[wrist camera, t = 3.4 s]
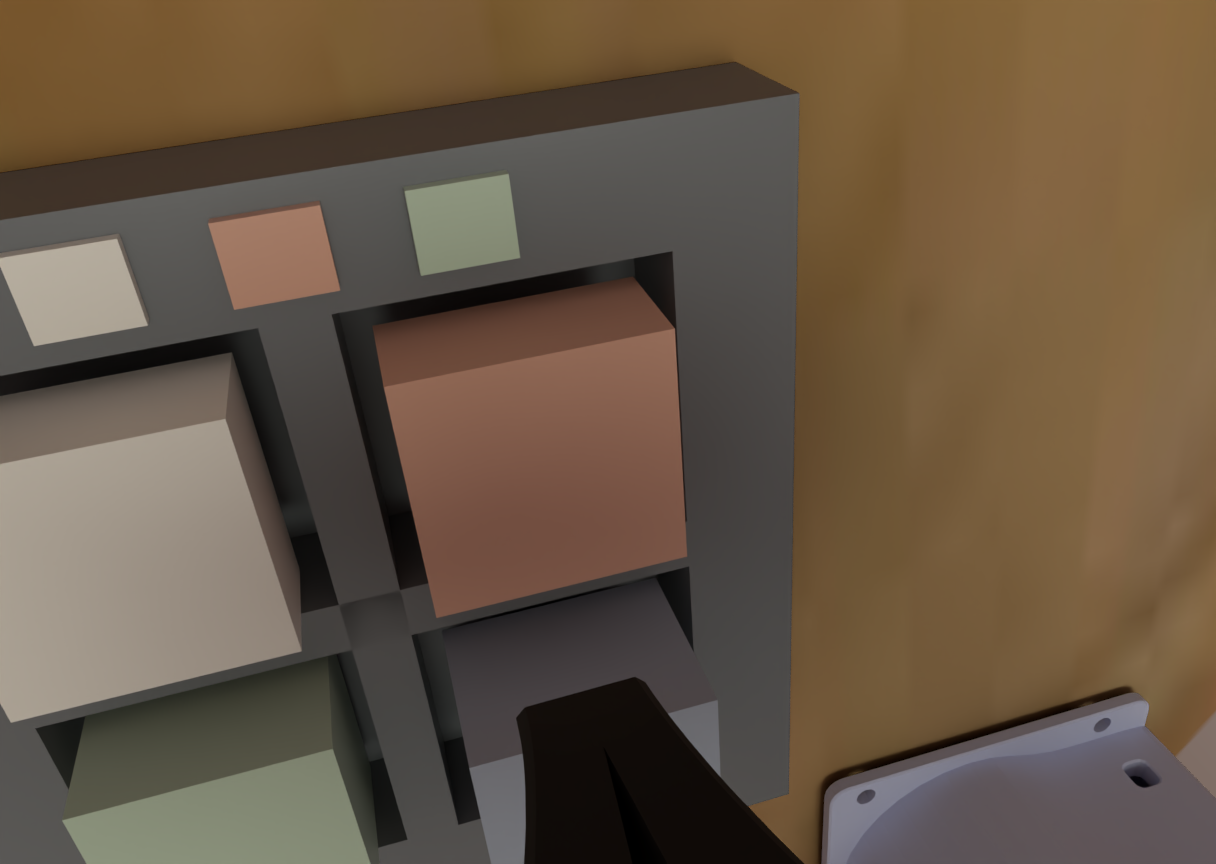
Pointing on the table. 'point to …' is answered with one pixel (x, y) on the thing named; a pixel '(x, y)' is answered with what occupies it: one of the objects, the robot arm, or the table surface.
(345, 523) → the keypad bezel
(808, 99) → the table surface
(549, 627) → the key slate
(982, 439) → the table surface
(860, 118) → the table surface
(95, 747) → the key sage
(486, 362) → the key terracotta
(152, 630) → the key cream
